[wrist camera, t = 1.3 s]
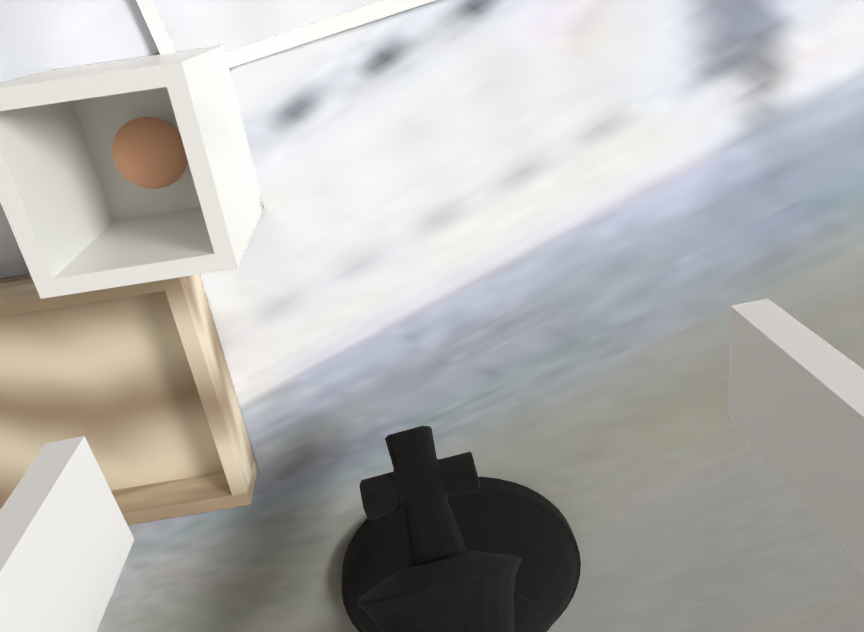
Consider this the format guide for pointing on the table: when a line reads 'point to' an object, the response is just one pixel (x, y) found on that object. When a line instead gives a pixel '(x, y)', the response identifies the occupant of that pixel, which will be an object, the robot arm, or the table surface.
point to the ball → (149, 152)
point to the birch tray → (125, 394)
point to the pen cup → (108, 189)
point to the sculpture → (455, 549)
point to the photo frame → (390, 4)
